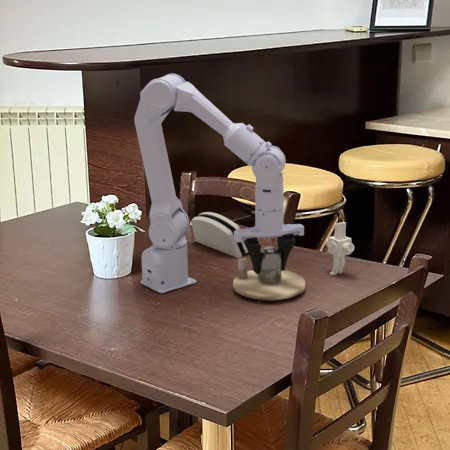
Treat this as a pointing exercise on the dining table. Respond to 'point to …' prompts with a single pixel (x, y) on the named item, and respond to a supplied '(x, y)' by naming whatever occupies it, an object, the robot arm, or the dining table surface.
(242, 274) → the turntable
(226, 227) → the grey piece
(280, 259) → the grey short cylinder
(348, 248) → the toy robot
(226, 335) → the dining table surface
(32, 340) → the dining table surface
